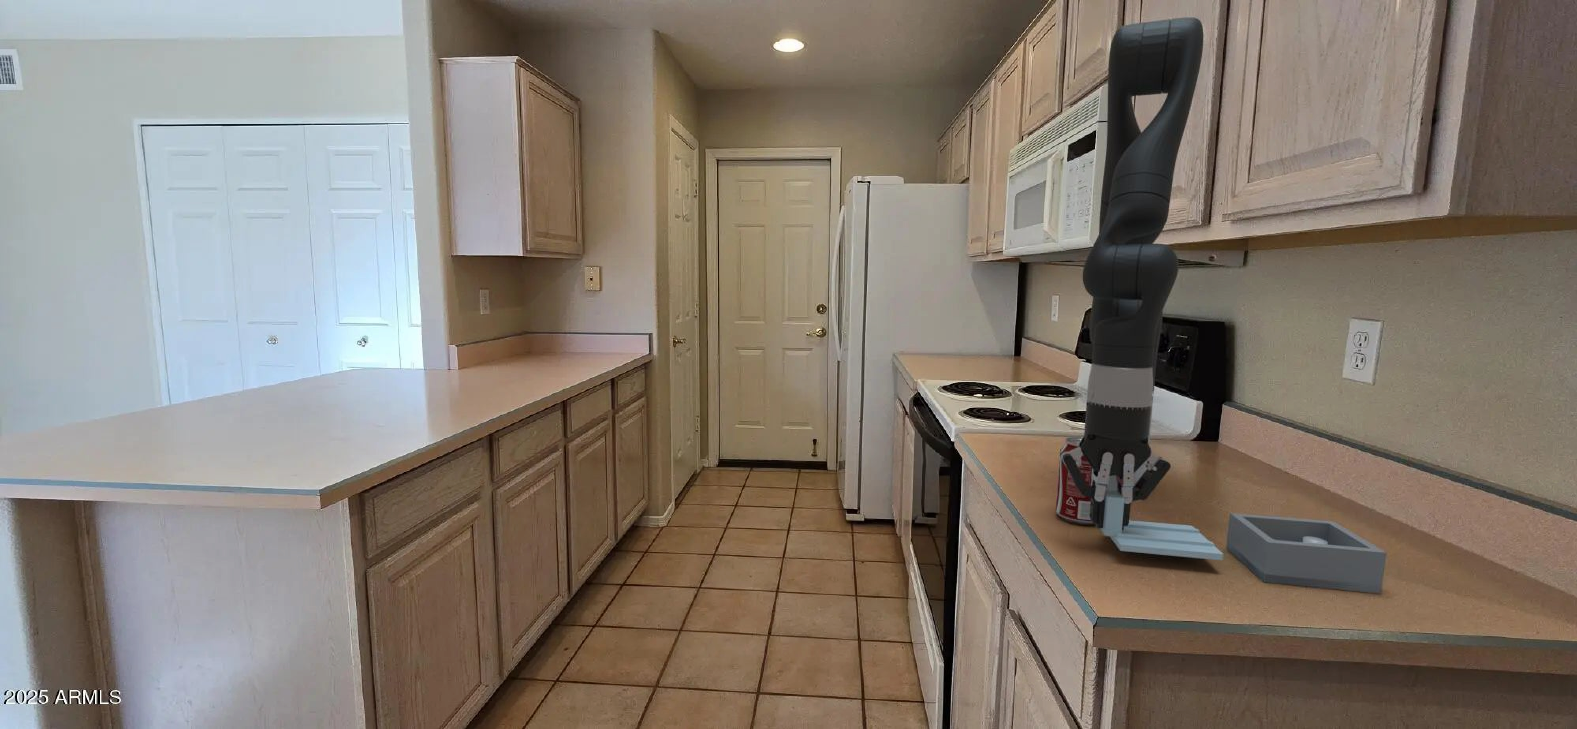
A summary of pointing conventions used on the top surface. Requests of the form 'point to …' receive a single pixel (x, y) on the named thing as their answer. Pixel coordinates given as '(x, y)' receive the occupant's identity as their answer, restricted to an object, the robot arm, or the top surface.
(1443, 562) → the top surface
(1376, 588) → the grey shallow tray
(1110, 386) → the robot arm
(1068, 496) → the soda can
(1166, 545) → the lid
